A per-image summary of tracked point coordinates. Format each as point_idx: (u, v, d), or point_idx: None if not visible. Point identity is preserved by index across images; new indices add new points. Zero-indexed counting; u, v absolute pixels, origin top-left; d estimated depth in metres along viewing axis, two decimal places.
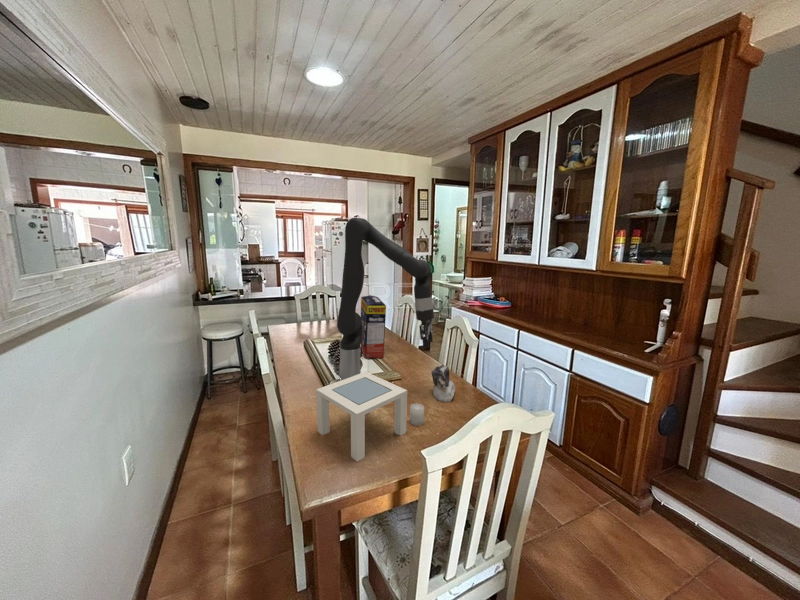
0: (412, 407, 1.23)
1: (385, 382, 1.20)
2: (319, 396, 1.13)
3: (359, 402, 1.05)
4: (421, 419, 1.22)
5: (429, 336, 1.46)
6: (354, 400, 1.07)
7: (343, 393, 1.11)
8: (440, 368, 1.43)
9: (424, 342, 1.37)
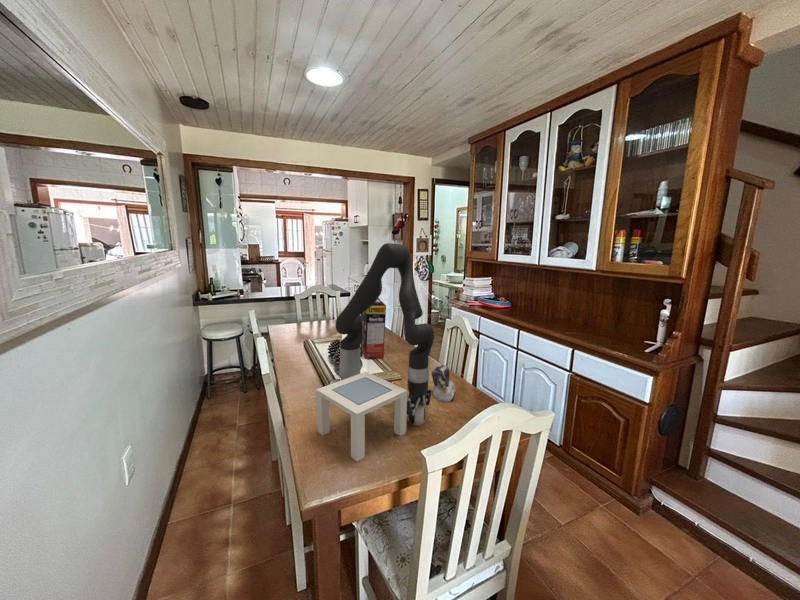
0: None
1: (385, 382, 1.20)
2: (319, 396, 1.13)
3: (359, 402, 1.05)
4: (421, 419, 1.22)
5: None
6: (354, 400, 1.07)
7: (343, 393, 1.11)
8: (440, 368, 1.43)
9: (409, 416, 1.21)
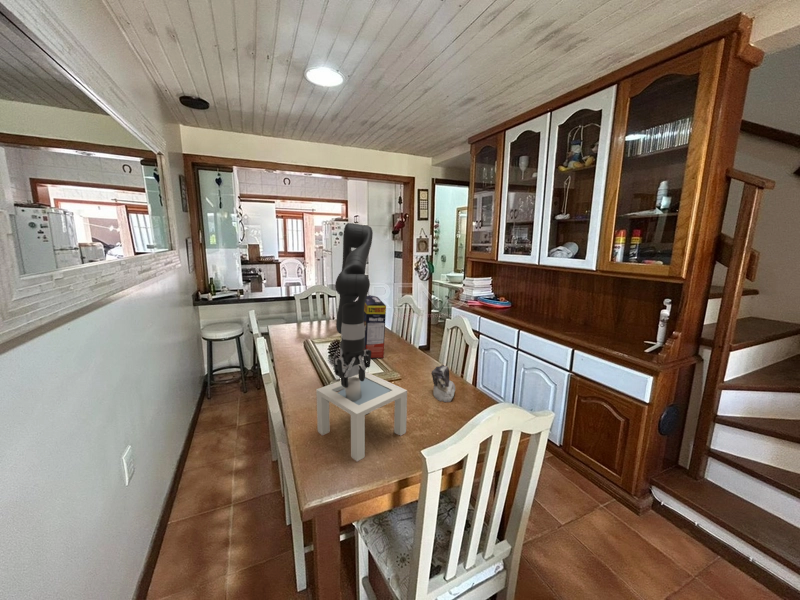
0: None
1: (385, 382, 1.20)
2: (319, 396, 1.13)
3: None
4: (357, 394, 1.09)
5: (360, 373, 1.12)
6: None
7: None
8: (440, 368, 1.43)
9: (342, 379, 1.07)
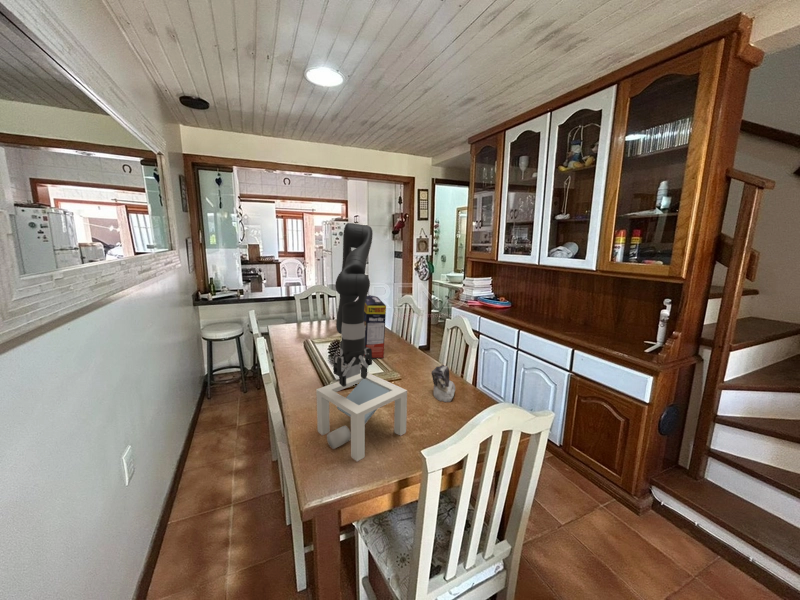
0: (329, 444, 1.09)
1: (385, 382, 1.20)
2: (319, 396, 1.13)
3: None
4: (345, 440, 1.09)
5: (362, 371, 1.13)
6: None
7: None
8: (440, 368, 1.43)
9: (340, 378, 1.07)
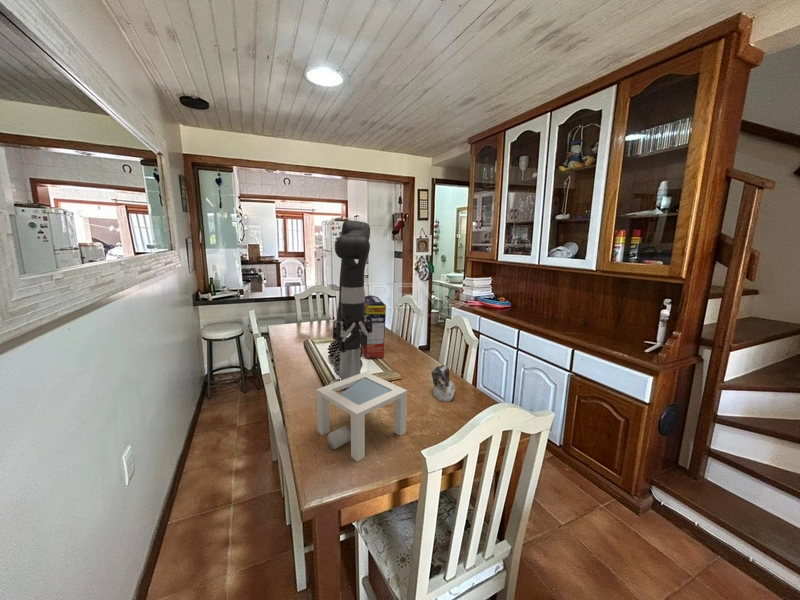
0: (330, 443, 1.08)
1: (385, 382, 1.20)
2: (319, 396, 1.13)
3: None
4: (346, 441, 1.09)
5: (362, 338, 1.11)
6: None
7: None
8: (440, 368, 1.43)
9: (339, 344, 1.04)
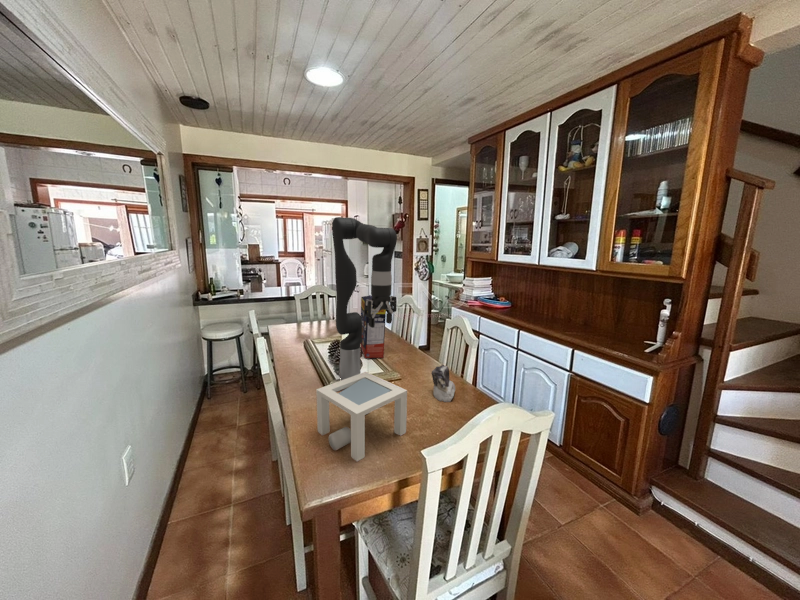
0: (330, 443, 1.08)
1: (385, 382, 1.20)
2: (319, 396, 1.13)
3: None
4: (347, 443, 1.09)
5: (388, 316, 1.28)
6: None
7: None
8: (440, 368, 1.43)
9: (369, 320, 1.22)
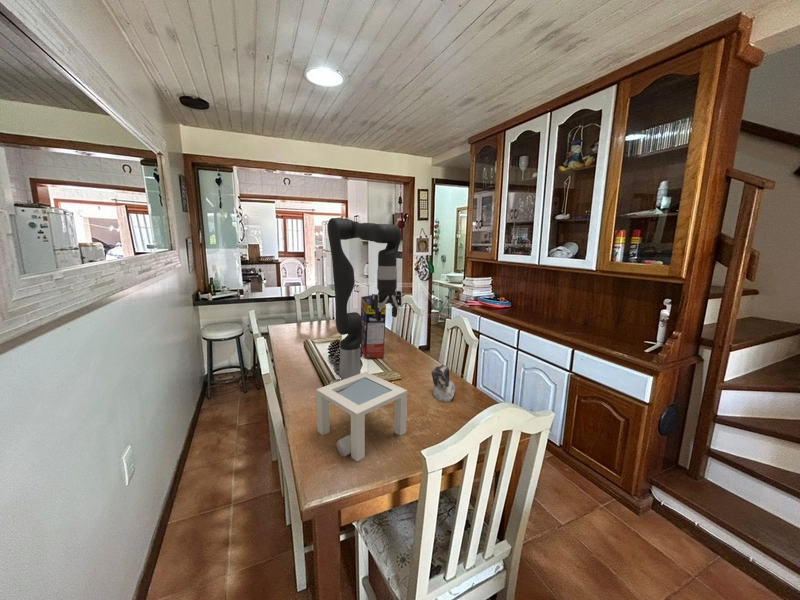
0: (339, 442, 1.04)
1: (385, 382, 1.20)
2: (319, 396, 1.13)
3: None
4: None
5: (393, 310, 1.33)
6: None
7: None
8: (440, 368, 1.43)
9: (376, 313, 1.26)
